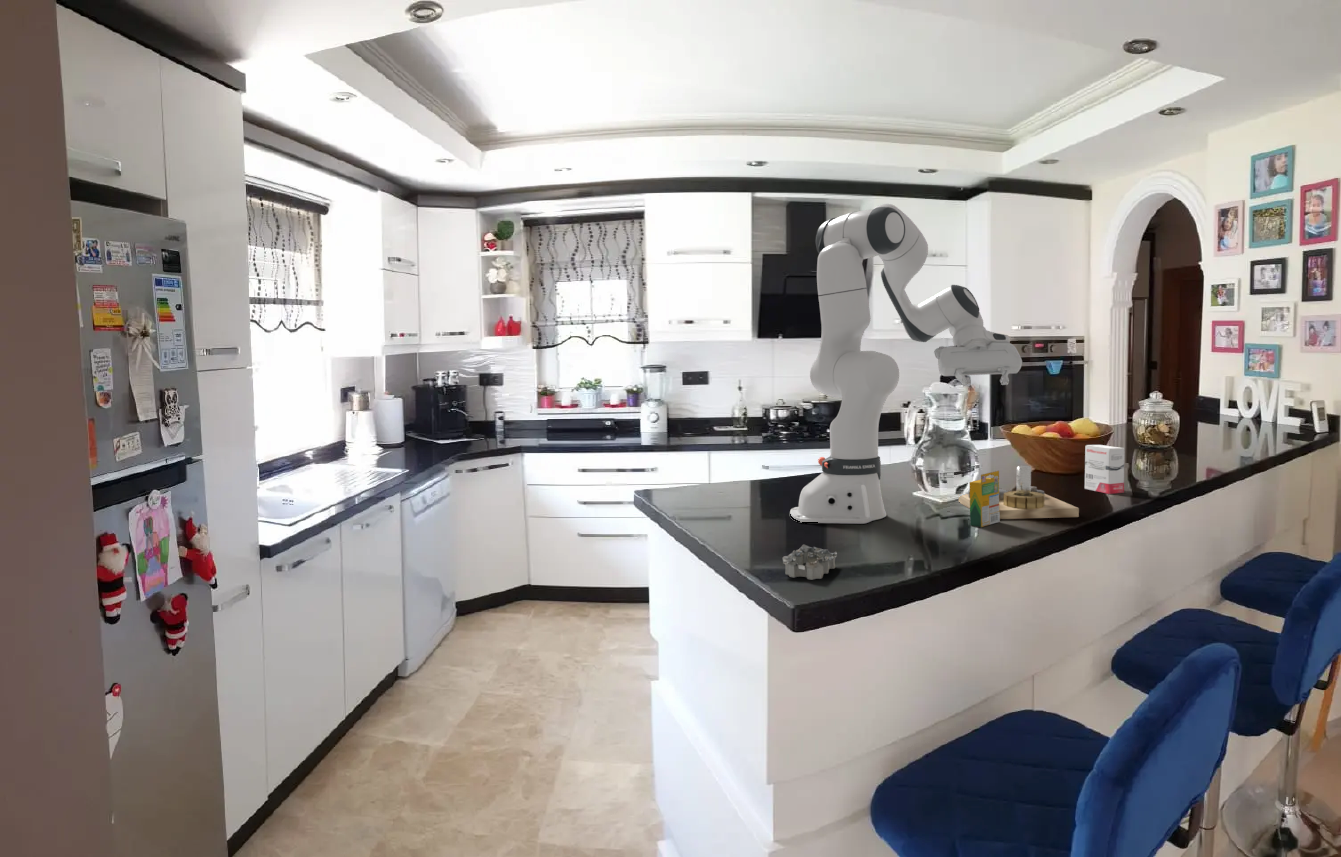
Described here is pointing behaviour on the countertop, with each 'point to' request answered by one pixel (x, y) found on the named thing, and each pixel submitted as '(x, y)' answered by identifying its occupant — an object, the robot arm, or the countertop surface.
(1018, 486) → the input shaft
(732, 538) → the countertop surface
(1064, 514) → the gear board
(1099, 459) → the ink box
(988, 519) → the crayon box
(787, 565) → the egg carton
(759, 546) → the countertop surface
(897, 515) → the countertop surface
